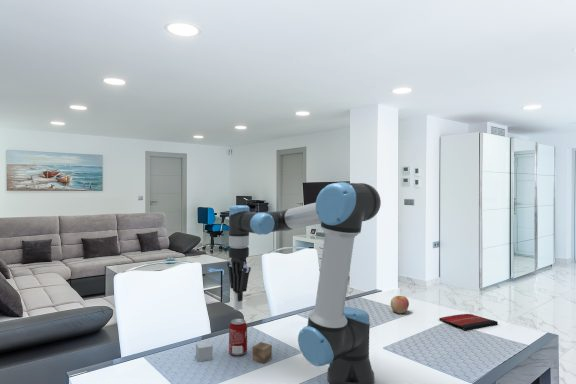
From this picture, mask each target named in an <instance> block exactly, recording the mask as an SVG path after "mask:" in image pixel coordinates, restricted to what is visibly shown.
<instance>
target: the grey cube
mask: <svg viewBox="0 0 576 384" xmlns="http://www.w3.org/2000/svg"><path fill="white" fill-rule="evenodd" d="M213 348H214V347H213V344H212V343H211V341H210V340H207V341H200V342H195V357H196V360H197V362H199V363H201V362H205V361H211V360H213V354H214V353H213V352H214V351H213Z"/></svg>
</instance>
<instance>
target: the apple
mask: <svg viewBox="0 0 576 384" xmlns="http://www.w3.org/2000/svg"><path fill="white" fill-rule="evenodd" d="M409 305H410V301H409V299H408V298H407V297H406V296H404V295H396V296H395V295H394V296H393V297H392V298H391V300H390V308H391V310H392V311H393V312H395V313H397V314H404V313H405V312H407V310H408V309H409Z"/></svg>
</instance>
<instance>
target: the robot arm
mask: <svg viewBox="0 0 576 384" xmlns="http://www.w3.org/2000/svg"><path fill="white" fill-rule="evenodd" d="M381 203H382V202H381V196H380V194H379V192H378V190H377V189H376V188H375V187H374V186H372V185H370V184H368V183H365V182H344V181H342V182H341V181H340V182H339V181H338V182H333V183H331V184H330V183H329V184H327V185H326V186H324V187H323V188H322V189H321V190H320V191H319V192H318V195H317V196H316V200H315V202H313V203H307V204H305V205H301V206H296V207H291V208H287V209H284V210H277V211H262V212H261V211H260V212H255V211H250V206H249V205H243V204H242V205H237V204H235V205H231V206H229V214H228V246H229V247H228V257H229V258H230V262H227V268H228V277H229V286H230V289H232V291H233V310H235V311H238V310H239V311H240V310H243V298H244V296H243V295H244V294H243V292H247V289H248V283H249V278H250V277H249V276H250V272H251V270H252V269H251V268H252V267H249V266H248V265H247V259H248V258H249V255H250V248H249V245H250V234H251V233H252V234H254V235H255V234H257V235H260V236H261V235H265V236H266V235H269V234H270V233H274V232H288V231H291V230H294V229H299V228H304V227H309V226H315V225H320V228H321V229H322V230H323V232H324V239H323V246H322V252H321V253H322V254H321V261H320V268H319V276H318V283H317V290H316V298H315V305H314V309H313V310H311V311H310V312H309V313H308V319H307V325H306V326H304V327H303V328H302V329H300V331H299V332H298V336H297V341H298V342H297V343H298V347H299V348H298V349H299V350H300V352H301V353H302V355H303V357H304V358H305V360H306V361H307V362H309V364H311V365H313V366H316V367H323V366H326V365H329V366H328V368H327V373H326V375H327V377H326V378H327V381H328V382H329V384H375V372H374V371H373V368H372V364H371V360H370V325H371V323H370V315H369V313H368V312H367V311H365V310H364V309H361V308H358V307H352V306H346V298H347V291H348V286H349V276H350V270H351V265H352V264H351V263H352V258H353V257H352V255H353V249H354V242H355V237H356V236H358V235H359V234H361V233H362V232H361V231H362V226H363V222H366V221H369V220H372V219H373V218H374V217H375V216H376V215H377V214H378V213H379V211H380V209H381V206H382V205H381Z"/></svg>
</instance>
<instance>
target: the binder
mask: <svg viewBox="0 0 576 384" xmlns="http://www.w3.org/2000/svg"><path fill="white" fill-rule="evenodd" d="M438 321H440V322H442V323H444V324H447V325H449V326H450V327H452V328H455V329H462V328H464V329H463V331H464V332H468V331H474V330H480V329H484V328H488V327H489V326H490V327H495V326H498V324H499V323H498V321H497V320H493V319H489V318H486V317H482V316H479V315H475V314H472V313H462V314H454V315H447V316H444V317H443V316H442V317H439V320H438ZM457 327H458V328H457ZM490 327H489V328H490ZM473 329H474V330H473ZM467 330H468V331H467Z"/></svg>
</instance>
